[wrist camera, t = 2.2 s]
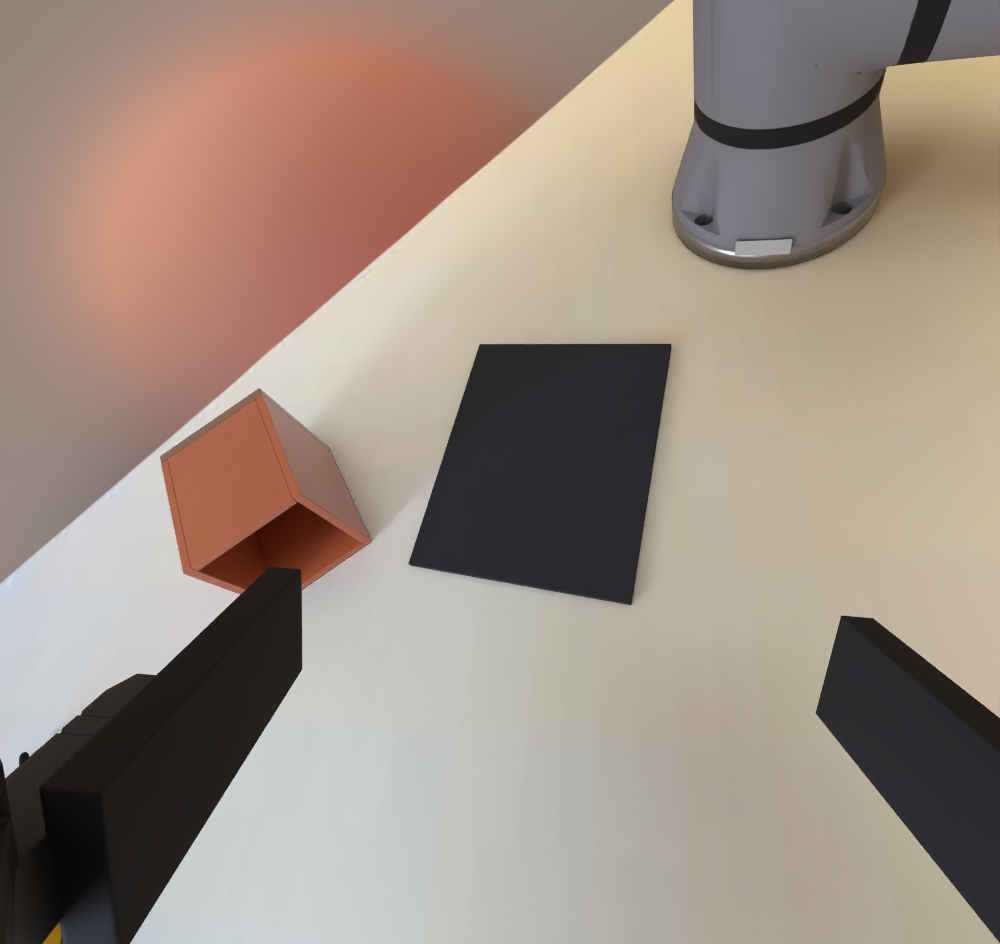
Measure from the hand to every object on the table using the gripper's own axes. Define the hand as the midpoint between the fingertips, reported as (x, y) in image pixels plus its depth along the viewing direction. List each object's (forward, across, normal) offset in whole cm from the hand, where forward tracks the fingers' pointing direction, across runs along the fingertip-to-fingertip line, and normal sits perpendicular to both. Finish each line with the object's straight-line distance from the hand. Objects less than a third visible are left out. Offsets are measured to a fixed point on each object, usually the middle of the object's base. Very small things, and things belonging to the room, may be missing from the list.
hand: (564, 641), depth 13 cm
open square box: (+30, -18, -9) cm, 36 cm away
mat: (+28, +1, -1) cm, 28 cm away
